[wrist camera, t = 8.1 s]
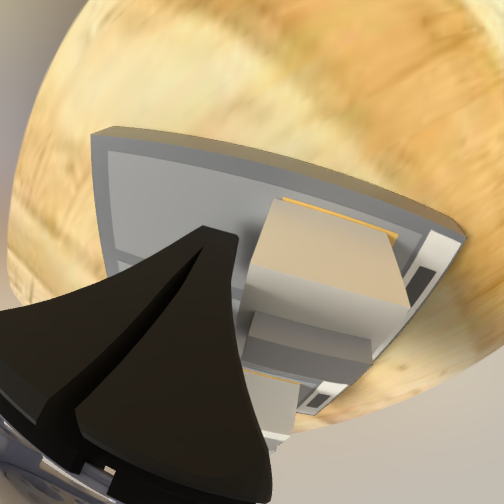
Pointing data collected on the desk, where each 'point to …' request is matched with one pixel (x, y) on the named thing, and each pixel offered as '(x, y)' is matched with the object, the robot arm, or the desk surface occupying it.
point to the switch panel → (250, 214)
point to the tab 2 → (318, 295)
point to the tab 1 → (273, 407)
